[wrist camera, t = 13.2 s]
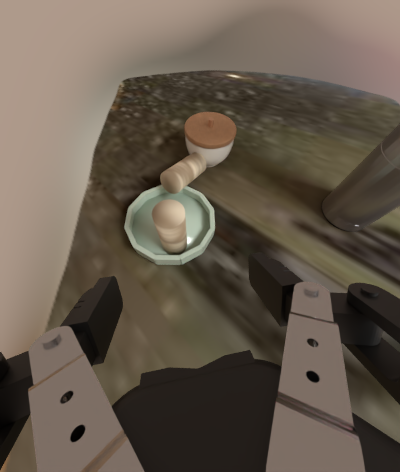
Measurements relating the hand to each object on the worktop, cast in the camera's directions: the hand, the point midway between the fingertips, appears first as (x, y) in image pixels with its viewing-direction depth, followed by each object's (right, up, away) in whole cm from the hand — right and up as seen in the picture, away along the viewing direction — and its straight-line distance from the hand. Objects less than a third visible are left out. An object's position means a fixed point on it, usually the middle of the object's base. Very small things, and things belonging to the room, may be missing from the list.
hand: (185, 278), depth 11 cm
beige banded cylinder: (-5, +12, +23) cm, 26 cm away
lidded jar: (+3, +21, +34) cm, 41 cm away
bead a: (-4, +1, +23) cm, 23 cm away
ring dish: (-5, +5, +25) cm, 26 cm away
